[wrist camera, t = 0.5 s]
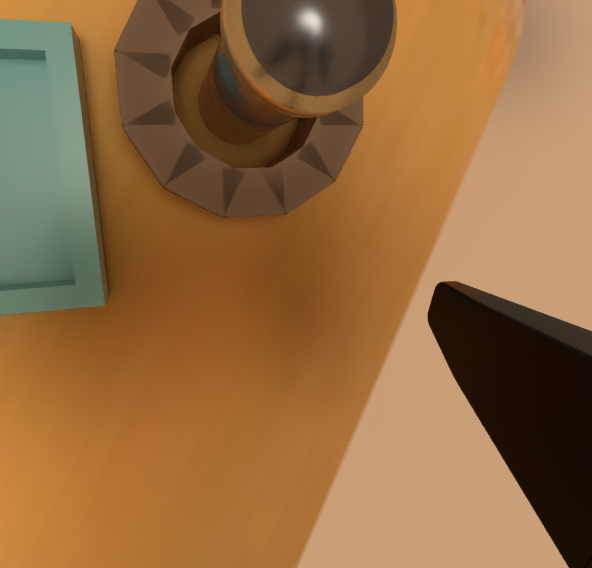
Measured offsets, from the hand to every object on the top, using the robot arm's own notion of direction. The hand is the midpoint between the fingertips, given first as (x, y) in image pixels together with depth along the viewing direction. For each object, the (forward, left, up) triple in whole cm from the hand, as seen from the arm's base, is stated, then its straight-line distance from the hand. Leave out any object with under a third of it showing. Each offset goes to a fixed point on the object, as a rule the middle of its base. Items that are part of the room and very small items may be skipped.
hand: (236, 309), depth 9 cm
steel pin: (+6, -3, -14) cm, 15 cm away
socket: (+6, -3, -14) cm, 15 cm away
